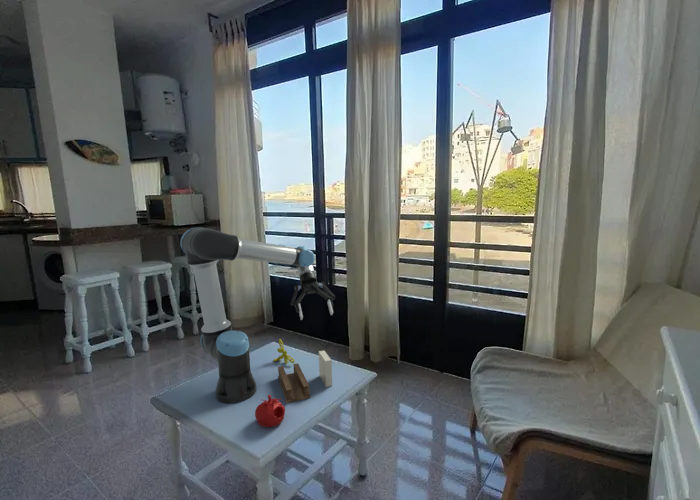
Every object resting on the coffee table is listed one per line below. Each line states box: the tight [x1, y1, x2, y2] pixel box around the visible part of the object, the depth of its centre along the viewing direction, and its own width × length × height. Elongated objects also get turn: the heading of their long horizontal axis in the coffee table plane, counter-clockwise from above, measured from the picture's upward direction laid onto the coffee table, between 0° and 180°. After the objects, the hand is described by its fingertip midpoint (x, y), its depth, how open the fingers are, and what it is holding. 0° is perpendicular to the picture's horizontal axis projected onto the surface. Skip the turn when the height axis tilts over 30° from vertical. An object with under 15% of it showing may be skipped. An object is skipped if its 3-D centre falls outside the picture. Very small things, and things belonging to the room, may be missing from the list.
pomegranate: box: [254, 394, 286, 428], centre depth 117 cm, size 10×10×9 cm
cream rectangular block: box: [318, 350, 333, 388], centre depth 143 cm, size 2×10×11 cm, turn 21°
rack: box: [277, 362, 311, 404], centre depth 139 cm, size 9×20×5 cm, turn 20°
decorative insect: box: [272, 338, 296, 364], centre depth 162 cm, size 13×3×10 cm
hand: (317, 316), depth 152 cm, fingers open, 13 cm apart
